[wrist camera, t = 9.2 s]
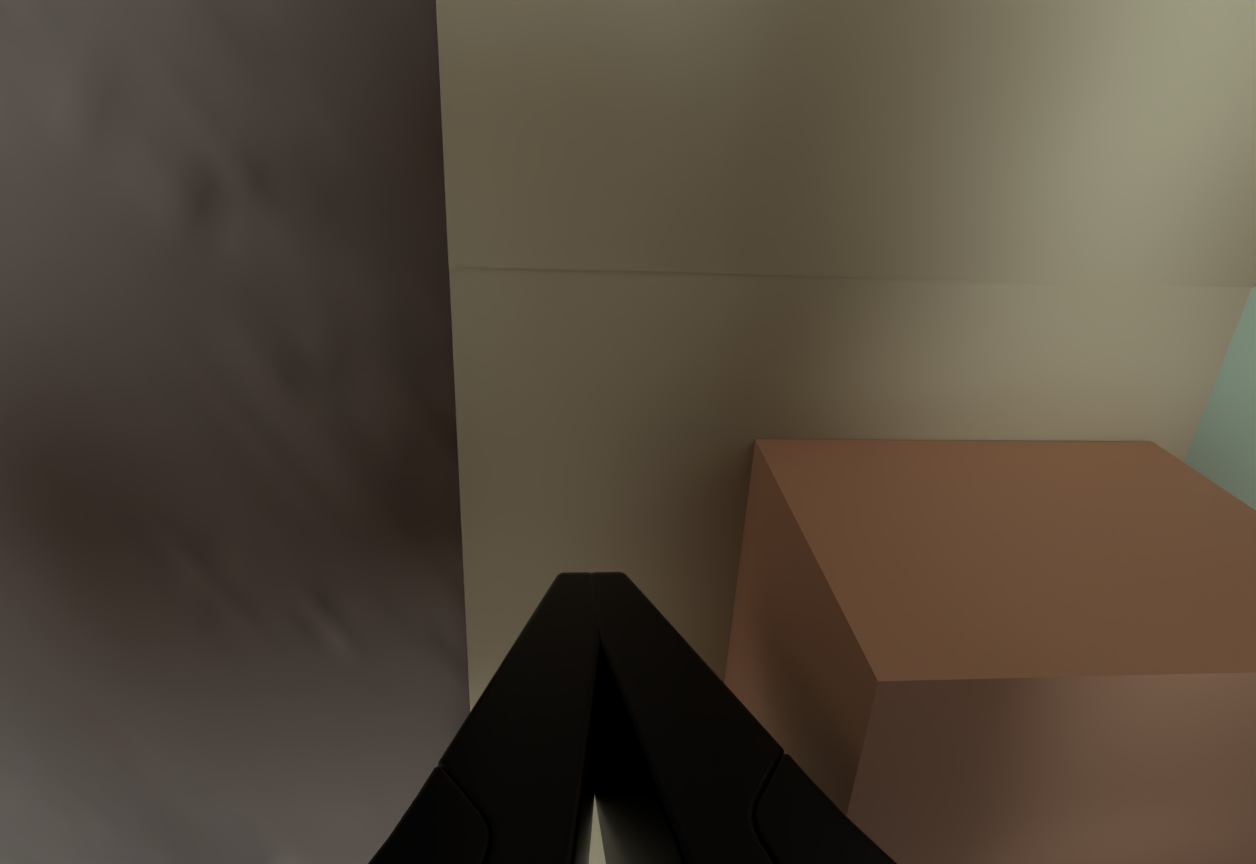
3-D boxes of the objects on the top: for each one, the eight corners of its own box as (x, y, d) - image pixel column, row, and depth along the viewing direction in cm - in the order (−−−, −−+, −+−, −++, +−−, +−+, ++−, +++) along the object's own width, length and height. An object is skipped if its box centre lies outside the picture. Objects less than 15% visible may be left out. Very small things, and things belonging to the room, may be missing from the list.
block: (1151, 441, 10) (1490, 667, 6) (1043, 739, 12) (1249, 1033, 9) (755, 438, 9) (878, 681, 6) (715, 749, 12) (787, 1065, 8)
